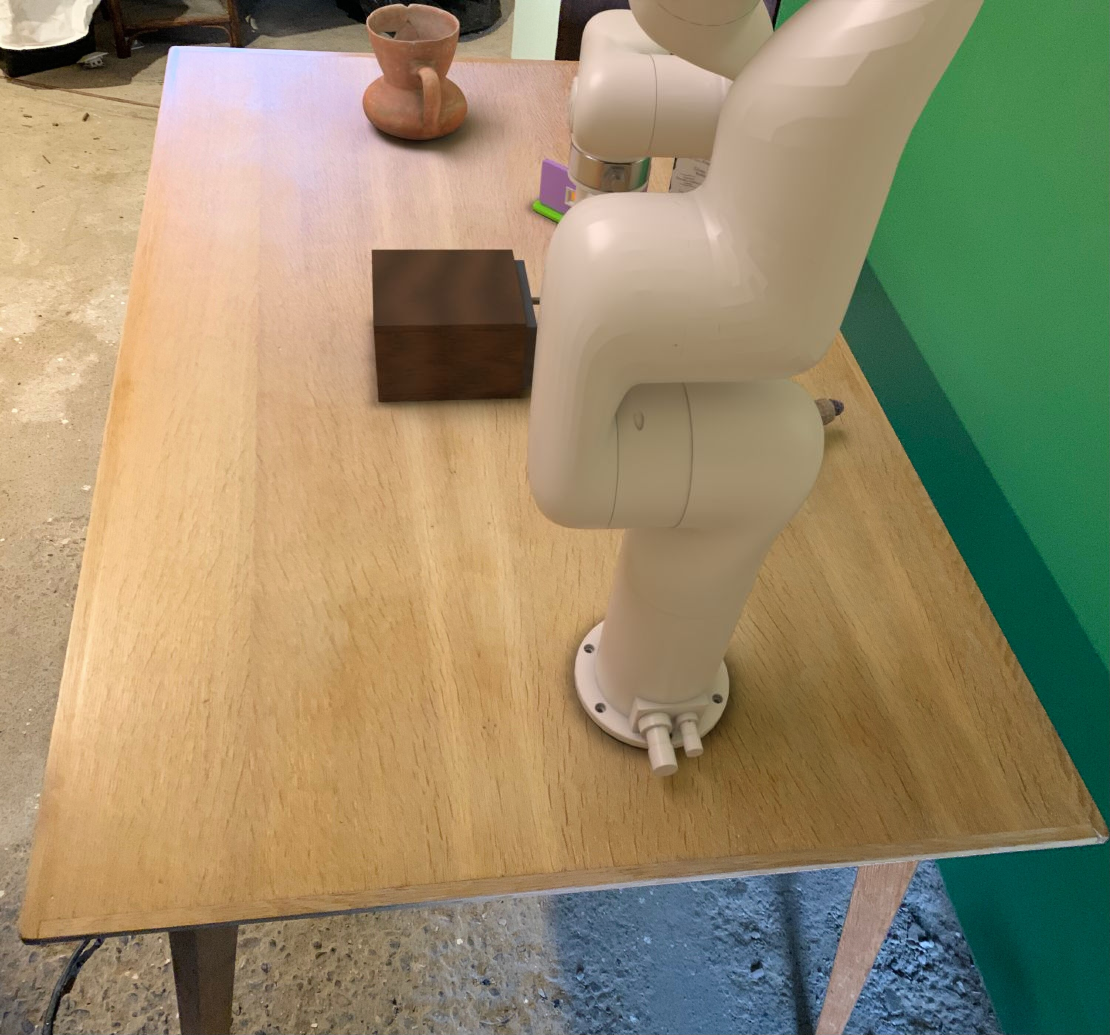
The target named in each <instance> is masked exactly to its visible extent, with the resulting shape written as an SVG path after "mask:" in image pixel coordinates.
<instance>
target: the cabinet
mask: <svg viewBox="0 0 1110 1035" xmlns="http://www.w3.org/2000/svg"><path fill="white" fill-rule="evenodd" d="M515 260H516V259H515V255H514V250H513V248H512V249H511V248H509V249H506V248H505V249H503V248H502V249H501V248H500V249H498V248H497V249H496V248H495V249H493V248H490V249H488V248H487V249H486V248H485V249H483V248H482V249H479V248H478V249H465V248H463V249H459V248H458V249H457V248H456V249H455V248H454V249H452V248H451V249H447V248H446V249H443V248H442V249H440V248H439V249H437V248H436V249H435V248H434V249H422V248H421V249H418V248H417V249H416V248H415V249H414V248H413V249H409V248H408V249H401V248H400V249H390V248H389V249H387V248H386V249H371V278H372V279H371V283H372V284H371V287H372V327H373V341H374V342H373V344H374V357H375V358H374V359H375V372H376V373H375V374H376V388H377V389H376V390H377V401H378V402H407V401H408V402H412V401H414V402H416V401H447V400H448V401H450V400H451V401H452V400H453V401H455V400H456V401H457V400H490V399H495V400H496V399H521V397H522V387H521V385H522V373H523V361H524V349H525V337H526V325H527V323H526V318H525V313H524V307H523V302H522V297H521V292H520V286H519V281H518V276H517V270H516V265H515Z"/></svg>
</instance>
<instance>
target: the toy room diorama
mask: <svg viewBox="0 0 1110 1035" xmlns="http://www.w3.org/2000/svg"><path fill="white" fill-rule="evenodd" d="M651 170H652V166H651V167H650V172H649V178H648V183H647V186H646V187H645V189H644V190H642V191H641V192H647V193H648V189H649V184H650V177H651ZM539 183H540V186H539V195H538V196H539V198H538V199H537V200H536V201H534V203H533V204H532V209H533V210H534V211H535V212H537V213H538V214H540V215H542V216H543V217H546V218H548V219H550V220H552V221H554V222H556V223H557V224H558V223H559V222H560V220H561V219H562V217H563V216H564V215H565V213H566V212H567V211H568V210H569V209H570V208H572V207H573V206H574V200H575V192H576V186H575V185H574V184H573V182H571V181H570V179H569V177H568V166H565V165H562V164H560V163H558V162H556V161H554V160H553V159H551V158H544V159H543V160H542V163H541V172H540V182H539Z"/></svg>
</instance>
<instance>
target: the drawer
mask: <svg viewBox="0 0 1110 1035" xmlns="http://www.w3.org/2000/svg"><path fill="white" fill-rule="evenodd" d="M514 260H515V265H516V270H517V276H518V281H519V286H520V292H521V297H522V302H523V307H524V313H525V318H526V323H527V325H526V337H525V349H524V361H523V373H522V385H521V388H532V382H533V371H534V360H535V349H536V338H537V326H538V322H537V317H536V312H535V309H534V306H539V304H540V296H532V293H531V288H530V284H529V283H530V282H529V277H528V274H527V268H526V264H525V259H514Z"/></svg>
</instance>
